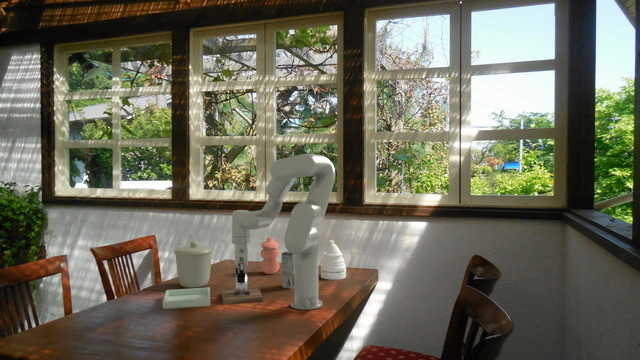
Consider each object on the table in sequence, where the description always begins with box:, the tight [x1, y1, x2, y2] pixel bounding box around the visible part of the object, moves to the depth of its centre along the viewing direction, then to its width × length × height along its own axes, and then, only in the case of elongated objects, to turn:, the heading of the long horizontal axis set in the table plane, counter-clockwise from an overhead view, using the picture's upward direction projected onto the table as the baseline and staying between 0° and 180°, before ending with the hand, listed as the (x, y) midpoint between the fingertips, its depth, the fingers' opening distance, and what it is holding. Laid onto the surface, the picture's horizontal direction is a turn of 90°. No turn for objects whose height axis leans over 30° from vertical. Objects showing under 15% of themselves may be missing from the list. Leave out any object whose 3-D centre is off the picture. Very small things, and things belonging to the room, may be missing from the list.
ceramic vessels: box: [260, 236, 282, 283], centre depth 233 cm, size 35×21×19 cm, turn 48°
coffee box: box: [281, 250, 295, 290], centre depth 213 cm, size 9×6×16 cm
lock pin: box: [235, 272, 249, 296], centre depth 194 cm, size 5×5×10 cm
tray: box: [162, 287, 211, 310], centre depth 188 cm, size 18×18×3 cm
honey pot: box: [320, 239, 347, 281], centre depth 232 cm, size 13×13×18 cm
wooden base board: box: [221, 286, 264, 305], centre depth 194 cm, size 16×16×2 cm
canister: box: [173, 240, 215, 289], centre depth 215 cm, size 18×18×21 cm
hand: (240, 279), depth 194 cm, fingers open, 9 cm apart
